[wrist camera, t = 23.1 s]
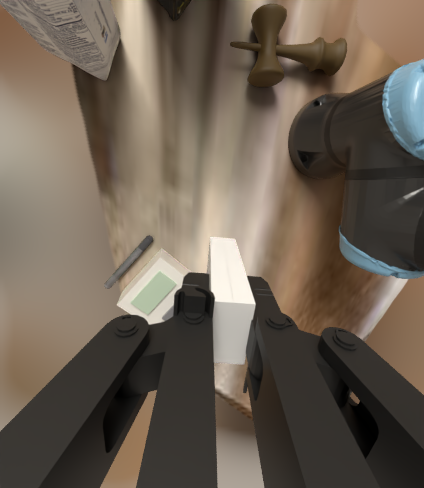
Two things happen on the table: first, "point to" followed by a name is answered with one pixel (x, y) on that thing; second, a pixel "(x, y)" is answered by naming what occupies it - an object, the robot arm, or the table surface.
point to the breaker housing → (154, 289)
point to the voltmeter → (174, 7)
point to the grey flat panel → (128, 261)
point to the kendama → (286, 49)
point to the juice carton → (71, 30)
